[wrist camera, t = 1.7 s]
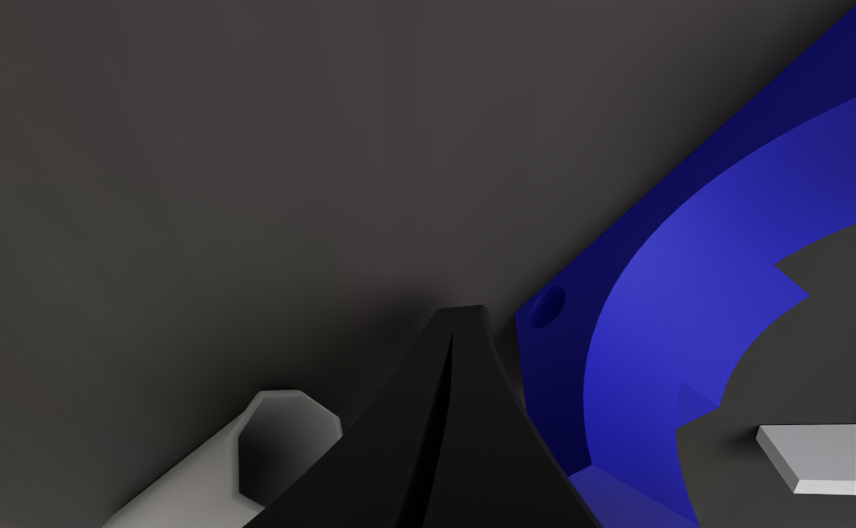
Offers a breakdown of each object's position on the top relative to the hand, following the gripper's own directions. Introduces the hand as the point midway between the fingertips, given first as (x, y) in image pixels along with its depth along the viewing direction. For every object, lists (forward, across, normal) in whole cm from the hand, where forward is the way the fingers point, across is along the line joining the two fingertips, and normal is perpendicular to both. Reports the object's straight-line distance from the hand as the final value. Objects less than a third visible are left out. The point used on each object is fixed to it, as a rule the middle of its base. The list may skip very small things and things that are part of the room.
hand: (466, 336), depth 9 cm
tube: (+3, +19, +13) cm, 23 cm away
